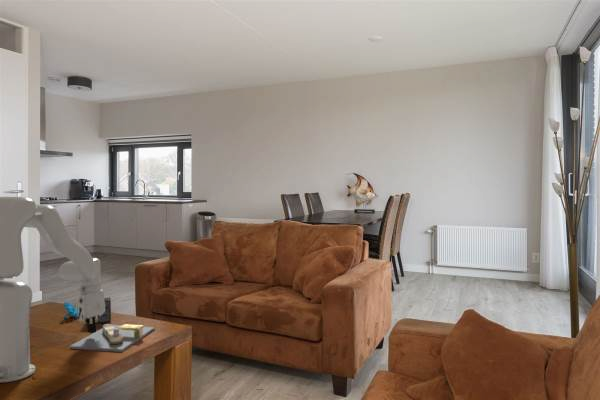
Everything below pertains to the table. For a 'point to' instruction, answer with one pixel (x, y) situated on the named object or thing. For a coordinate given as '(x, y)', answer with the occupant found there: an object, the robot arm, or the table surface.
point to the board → (103, 343)
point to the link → (112, 334)
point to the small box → (107, 314)
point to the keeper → (137, 329)
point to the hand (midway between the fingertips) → (91, 332)
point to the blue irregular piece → (71, 310)
